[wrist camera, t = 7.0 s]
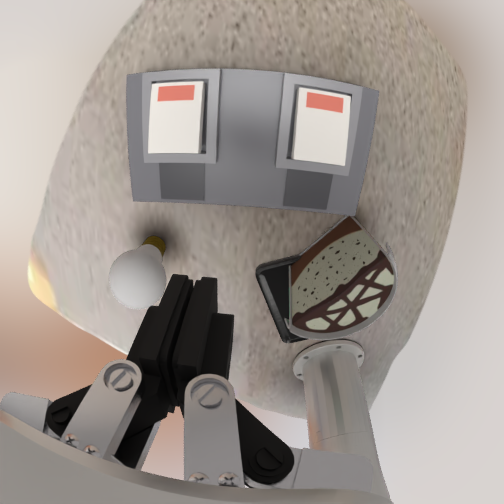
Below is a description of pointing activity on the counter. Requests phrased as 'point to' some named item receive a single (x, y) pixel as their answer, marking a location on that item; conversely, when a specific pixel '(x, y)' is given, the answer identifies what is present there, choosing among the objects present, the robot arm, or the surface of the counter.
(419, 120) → the counter surface
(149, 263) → the light bulb
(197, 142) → the rocker
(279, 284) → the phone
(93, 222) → the counter surface
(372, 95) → the rocker switch panel
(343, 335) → the food container
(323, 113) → the rocker
